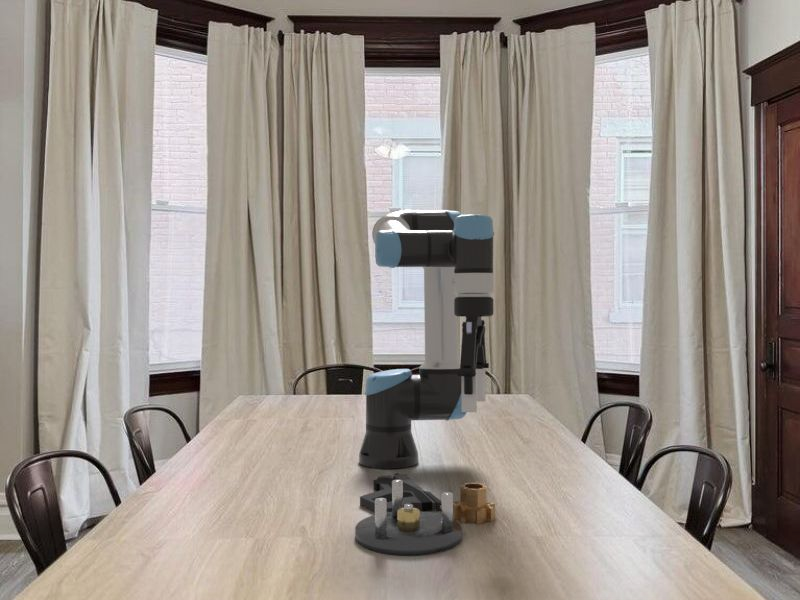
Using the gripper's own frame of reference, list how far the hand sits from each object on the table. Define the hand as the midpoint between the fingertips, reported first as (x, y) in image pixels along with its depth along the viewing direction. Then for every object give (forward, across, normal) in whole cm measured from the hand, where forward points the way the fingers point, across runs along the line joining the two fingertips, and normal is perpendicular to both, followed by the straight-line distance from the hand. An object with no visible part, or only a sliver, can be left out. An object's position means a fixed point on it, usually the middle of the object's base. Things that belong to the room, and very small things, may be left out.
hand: (474, 406), depth 136 cm
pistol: (+22, -10, -19) cm, 31 cm away
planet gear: (+21, 0, 0) cm, 21 cm away
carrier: (+22, +13, -10) cm, 27 cm away
